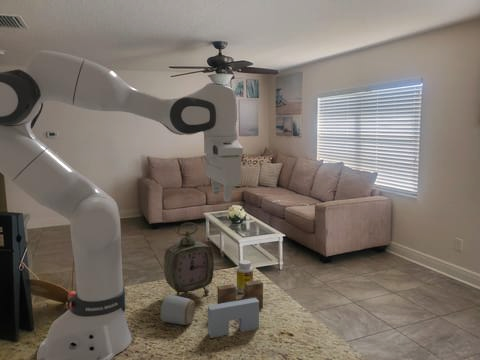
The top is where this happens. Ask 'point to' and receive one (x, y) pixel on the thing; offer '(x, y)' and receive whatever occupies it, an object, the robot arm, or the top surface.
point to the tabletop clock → (188, 264)
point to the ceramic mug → (177, 310)
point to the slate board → (233, 316)
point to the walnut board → (251, 291)
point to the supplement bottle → (244, 275)
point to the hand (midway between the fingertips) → (221, 198)
